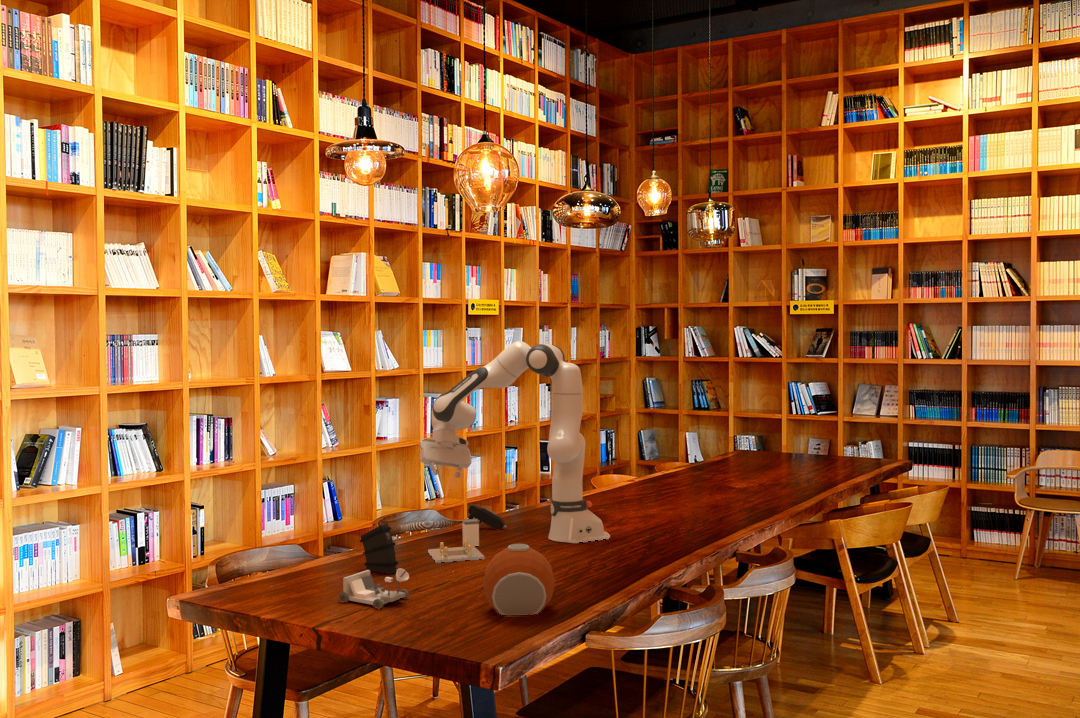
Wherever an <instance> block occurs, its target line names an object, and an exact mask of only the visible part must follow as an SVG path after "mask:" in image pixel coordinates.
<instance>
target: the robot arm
mask: <svg viewBox="0 0 1080 718" xmlns="http://www.w3.org/2000/svg"><path fill="white" fill-rule="evenodd" d="M528 369H529V370H531V372H533V373H535V374H538V375H541V376H543V377H546V378H550V379H551V384H552V385H551V386H552V387H551V388H552V389H551V390H552V394H551V395H552V396H551V397H552V398H551V419H550V420H551V421H550V427H549V432H548V433H549V434H548V443H547V448H546V450H547V455H548V457H549V458H550V459H551V460H552V461H553V462H554V467H553V473H552V477H551V479H552V480H551V483H552V484H551V493H552V494H551V500H550V513H551V521H550V529H549V533H548V537H547V538H548V540H551V541H553V542H557V543H558V542H561V543H569V544H580V543H579V542H583V543H589V542H588V541H591V542H595V540H598V541H604V540H603V539H606V540H610V539H611V535H610V533H608V532H607V531H605V530H604V529H605V528H604V524H603V521H602V520H601V518H600V517H598V516H597V515H596V514H594V512H592V511H591V510H589V509H588V508H591V507H592V506H593V503H592V502H591V501H590V500H586V499H583V498H584V497H583V476H584V475H583V474H584V467H585V454H586V443H587V442H586V439H585V437H584V435H583V434H582V433H581V432H580V431H581V430H580V429H581V423H582V418H583V394H584V393H583V379H582V374H581V368H580V367H579V366H578V365H577V364H575V363H572V362H566V357H565V353H564V351H563V350H562V349H561V347H558V346H557V345H554V344H549V343H540V344H536V345H534V346H530V345H529V343H526V342H524V341H522V340H517V341H514V342H512V343H511V344H510V345H508V346H507V347H505V348H504V349H503V350H502V351H501V352H500V353H498V355H497V356H496V357H495V358H494V359H493V360H491V361H490V362H488V363H487V364H486V365H484V366H480V367H478V368H476V369H474V370H472V371H471V372H470V373H469V374H467V376H465V377H464V378H463V379H462V380H460V381H459V382H457V384H455V385H454V386H453V387H452V388H450V389H449V390H447V391H445V392H444V393H442V394H440V395H438V396H437V397H436V399H435V400H434V401H433V404H432V409H431V426H432V430H433V431H432V439H429V438H423V439H421V440H420V441H419V447H420V449H419V451H420V452H419V461H420V462H421V464H428V465H429V468H430V470H431V473H432V475H433V476H437V475H439V469H438V468H436V466H445V467H451V468H453V467H454V468H456V469H457V471H456V472H455V473H454V476H455V477H454V478H455V479H460V478H461V477H462V471H463V469H468V468H469V467H470V466H471V464H472V455H471V450H470V448H469V447H468V446H469V441H468V440H467V439H465V438H463V437H461V436H459V435H458V434H457V430H458V431H460V430H465V429H468V428H470V427H471V426H472V425H474V423H475V421H476V419H477V410H476V408H475V406H473V405H471V404H470V403H467V402H465V401H464V400H465V399H466V398H467V397H469V396H470V395H471V394H473V392H475V391H477V390H479V389H485V388H486V389H487V388H488V389H489V388H491V389H492V388H493V389H504V388H507V387H509V386H511V385H512V384H514V383H515V381H516V380H517V379H518V378H519V377H520V376H521V375H522V374H523V373H524V372H525V371H526V370H528ZM435 465H436V466H435ZM609 538H610V539H609Z"/></svg>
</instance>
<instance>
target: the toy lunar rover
mask: <svg viewBox="0 0 1080 718" xmlns="http://www.w3.org/2000/svg"><path fill="white" fill-rule="evenodd" d="M342 579H343V580H342V586H343V589H342V591H343V592H341V593H340V594H339V595H338V600H339V602H340V601H344V602H347V603H349V601H351V602H356V603H361V604H366V605H371V606H372V607H373V608H374V607H378V608H382V607H383V608H384V605H386V604H388V603H393V602H395V601H397V600H400V598H405V599H404V600H408V599H407V598H409V595H410V594H409V592H408V591H407V589H404V588H402V589H401V590H400V589H399V588H400V587H399V584H400V583H401V582H406V581H408V580H409V579H410V574H409V572H407V570H406V569H404V568H398V569H397V568H396V573H395V579H396V590H390V588H391V587H390V584H391V583H392V582H395V579H394V578H393V577H390V576H386V577H384V582H386V583H387V586H388V587H387V590H386V588H385V587H381V585H382V584H380V583H376V584H375V583H374V579H373V576H372V574H371V571H370V570H366V569H365V570H362V571H360V572H357V573H354V574H351V575H347V576H344V577H343V578H342ZM383 608H382V609H383Z"/></svg>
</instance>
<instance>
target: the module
mask: <svg viewBox="0 0 1080 718" xmlns="http://www.w3.org/2000/svg"><path fill="white" fill-rule="evenodd" d="M479 522H480V520H478V519H475V518H473V519H468V518H467V519H462V542H463V541H465V540H466V541H467V546H468V545H471V546H474V547H475V546H479V547H480V523H479ZM475 548H476V547H475Z"/></svg>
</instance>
